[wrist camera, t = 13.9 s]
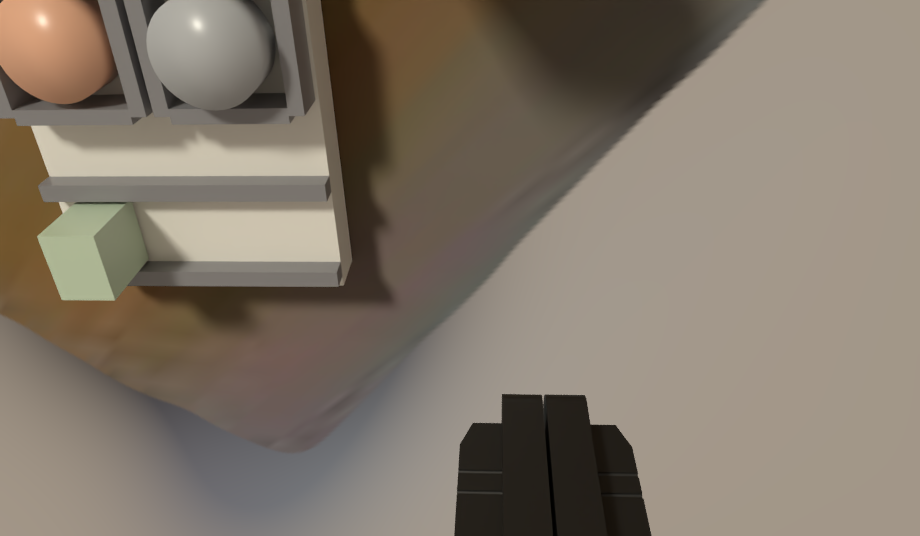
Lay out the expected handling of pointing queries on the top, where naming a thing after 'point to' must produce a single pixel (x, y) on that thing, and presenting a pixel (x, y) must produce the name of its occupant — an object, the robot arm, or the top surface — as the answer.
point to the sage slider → (94, 250)
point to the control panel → (207, 159)
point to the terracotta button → (56, 48)
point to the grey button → (211, 50)
